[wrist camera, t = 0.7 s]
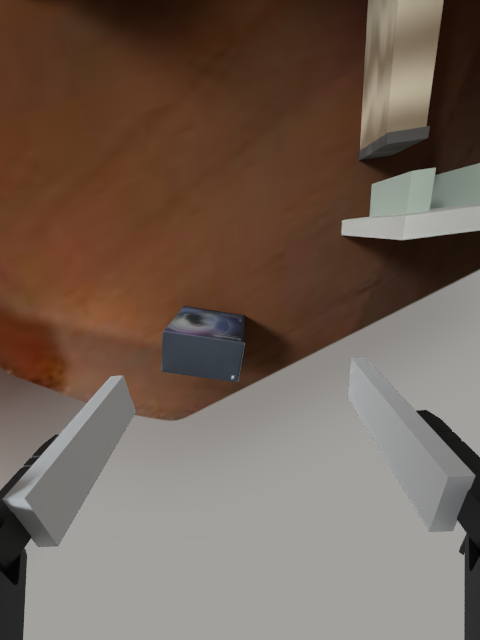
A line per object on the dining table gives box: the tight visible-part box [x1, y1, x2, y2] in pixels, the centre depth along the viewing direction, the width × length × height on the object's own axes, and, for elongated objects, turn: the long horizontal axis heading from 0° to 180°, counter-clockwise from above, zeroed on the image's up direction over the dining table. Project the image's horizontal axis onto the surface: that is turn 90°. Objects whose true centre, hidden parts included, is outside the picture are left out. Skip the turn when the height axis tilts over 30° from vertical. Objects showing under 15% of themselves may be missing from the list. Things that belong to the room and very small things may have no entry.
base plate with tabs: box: [342, 163, 480, 240], centre depth 26 cm, size 6×18×14 cm, turn 97°
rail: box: [359, 0, 444, 160], centre depth 24 cm, size 16×4×6 cm, turn 7°
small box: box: [162, 306, 245, 382], centre depth 35 cm, size 11×6×10 cm, turn 82°
